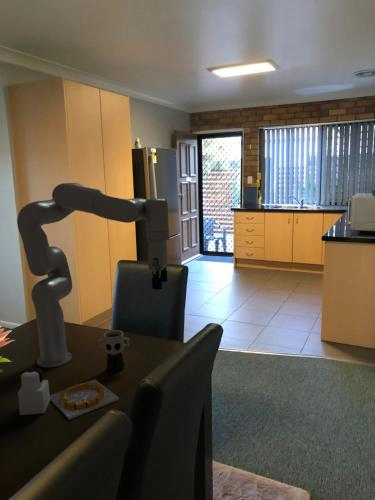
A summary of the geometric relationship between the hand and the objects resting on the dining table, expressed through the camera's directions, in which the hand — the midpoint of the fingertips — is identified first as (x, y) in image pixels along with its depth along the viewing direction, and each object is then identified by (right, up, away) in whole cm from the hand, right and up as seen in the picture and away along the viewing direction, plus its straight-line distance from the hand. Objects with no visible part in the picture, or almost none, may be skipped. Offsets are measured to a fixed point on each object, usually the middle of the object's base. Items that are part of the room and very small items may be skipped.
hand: (160, 285), depth 141 cm
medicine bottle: (-36, -36, -17) cm, 54 cm away
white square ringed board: (-23, -34, -13) cm, 43 cm away
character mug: (-16, -31, +7) cm, 35 cm away
